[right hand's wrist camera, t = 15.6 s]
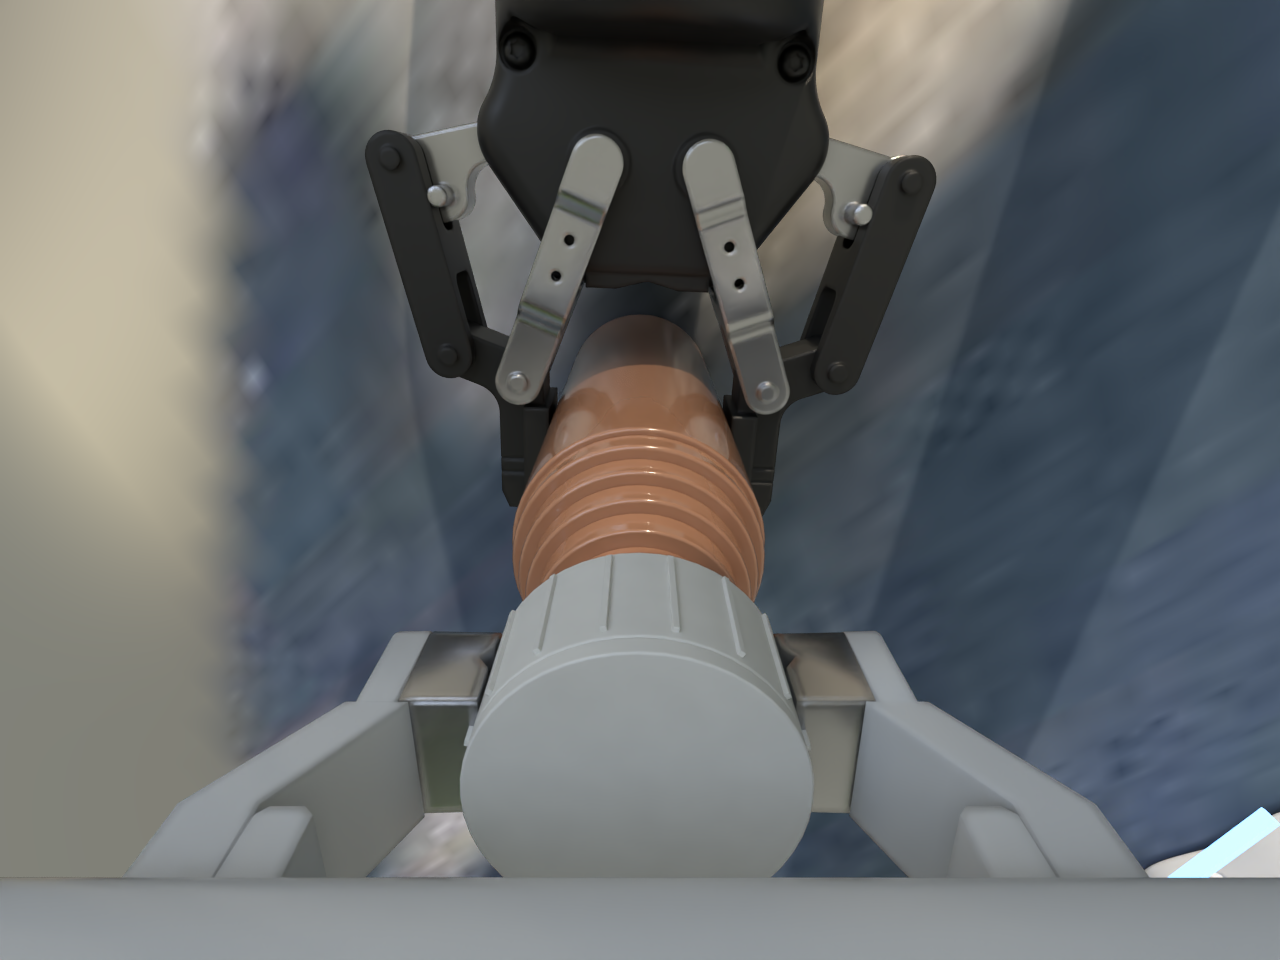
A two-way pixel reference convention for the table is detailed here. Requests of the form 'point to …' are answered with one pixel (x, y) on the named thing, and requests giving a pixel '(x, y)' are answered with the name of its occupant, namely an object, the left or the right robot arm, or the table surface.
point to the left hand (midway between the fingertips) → (636, 517)
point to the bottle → (639, 464)
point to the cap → (637, 731)
